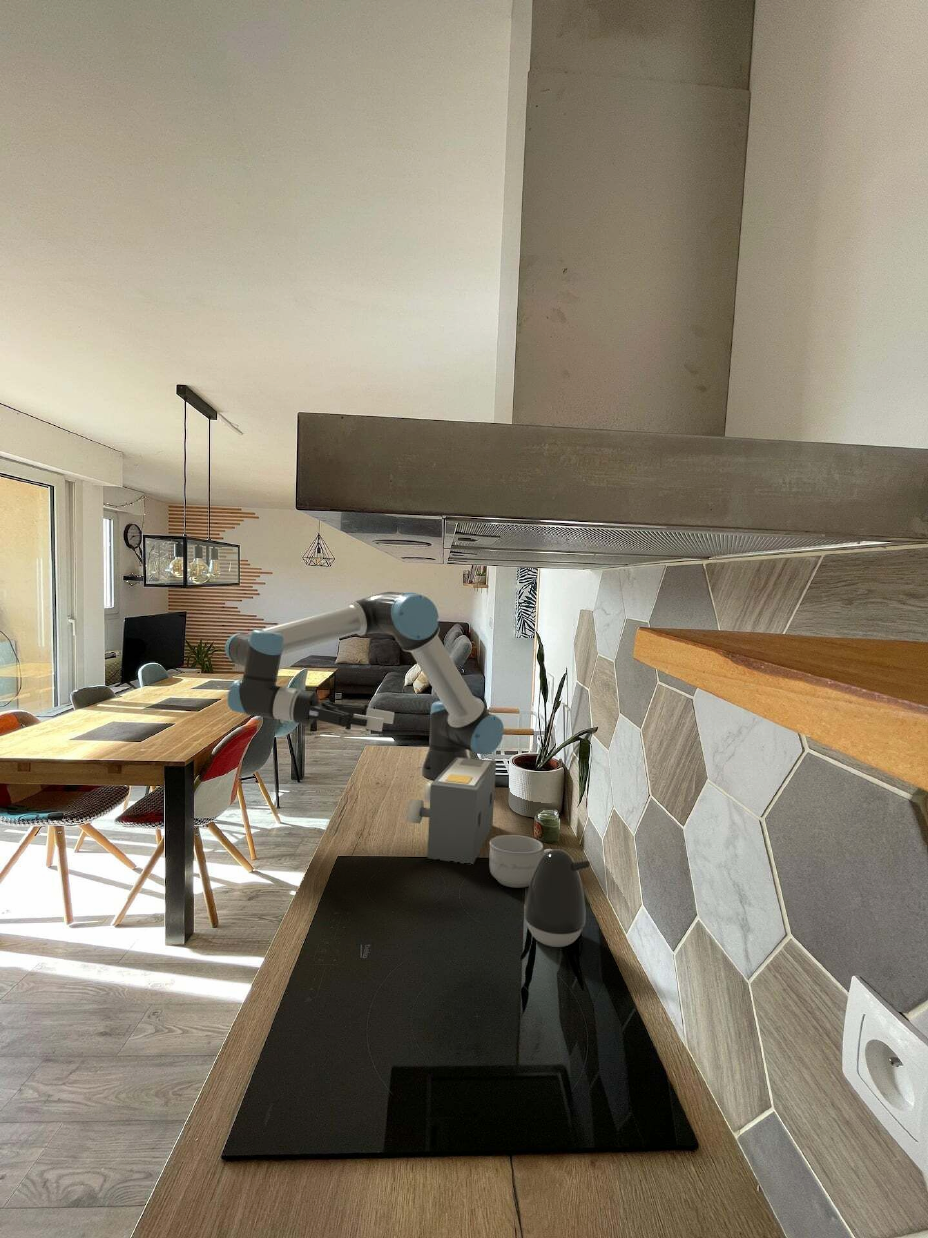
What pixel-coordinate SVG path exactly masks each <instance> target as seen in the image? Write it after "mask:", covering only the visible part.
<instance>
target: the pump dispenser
mask: <svg viewBox="0 0 928 1238" xmlns="http://www.w3.org/2000/svg"><path fill="white" fill-rule="evenodd" d="M589 867H591V862H590V861H589V860H588V859H587V860H579V861H574V859H573V858H572V856H571V855H570V854H569V852H567V851H566V850H563V849H559V848H558V849H557V848H556V849H553V850H551V851H549V852H547V853H546V854H545V855H544V856H543V858H542V859H541V861H540V862H539V864H538V866H537V868H536V870H535V872H534V875H533V877H532V880H531V883H530V885H529V886H528V891H527V893H526V895H527V896H526V899H525V904H524V918H525V921H526V924H527V928H528V930H529V932H530V933H531V935H532V936H533V938H534V939H535V940H537V941H538V942H539V943H541V944H542V945H545V946H548V947H551V948H552V947H553V948H562V947H567V946H569V945H571V944H573V943H574V942H575V941H576V940H577V939H578V938H579V936H580V935H581V933H582V931H583V928H584V927H585V924H586V916H587V914H586V913H587V912H586V911H587V910H586V900H585V893H584V888H583V883H582V878H581V876H580V872H579V871H580V870H585V869H587V868H589Z"/></svg>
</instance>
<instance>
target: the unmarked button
mask: <svg viewBox="0 0 928 1238" xmlns="http://www.w3.org/2000/svg"><path fill="white" fill-rule="evenodd" d="M433 782H434V781H431V780H428V781H427V782H426V783H425V787H424V793H423V794H424V795H423V798H424V799H423V801H424V802H425V803H428V804H430V792H431V784H432V783H433Z"/></svg>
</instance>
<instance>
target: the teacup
mask: <svg viewBox="0 0 928 1238" xmlns="http://www.w3.org/2000/svg"><path fill="white" fill-rule="evenodd" d="M551 850H554V849H552V848H547V849H544V845H543V842H541V841H540V840H538V839H536V838H533V837H529V836H526V835H519V834H518V835H517V834H501V835H497V836H494V837H493V838H490V840H489V855H488V856H489V859H488V860H489V861H488V863H489V864H488V865H489V871H490V874H491V876H492V877H493V878H495V879H496V880H497V882H498V883H499V884H501V885H503V886H505V887H507V888H508V887H509V888H516V889H519V888H521V889H522V888H526V887H529V886H530V883H531V880H532V877H533V875H534V872H535V870H536V868H537V866H538V864H539V862H540V861H541V859H542V858H543V856H544V855H545V854H546V853H547V852H549V851H551Z"/></svg>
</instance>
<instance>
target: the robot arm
mask: <svg viewBox="0 0 928 1238" xmlns="http://www.w3.org/2000/svg"><path fill="white" fill-rule="evenodd" d="M439 617H440V616H439V612H438V608H437V606H436V605H435V603H434V602H433V601H432V600H431V599H430V598H428V597H427V596H425V595H422V594H419V593H417V592H396V591H387V592H386V591H385V592H380V593H377V594H374V595H372V596H371V595H370V596H367V597H365V598H362V599H358V600H353V601H351V602H350V603H349V605H348V606H346V607H343V608H340V609H339V608H338V609H335V610H331V611H327V612H323V613H319V614H316V615H313V616H308V617H305V618H301V619H297V620H293V621H289V622H286V623H281V624H279V625H278V624H277V625H275V626H272V627H268V628H263V629H261V630H260V629H254V630H252V631H251V632H248V633H246V632H240V633H235V634H233V635H231V636H230V637H229V638H228V639H227V641H225V642H226V643H225V646H224V653H225V655H226V657H227V658H228V659H229V660H230V661H232V663H234V664H236V665H239V666H242V667H244V671H243V676H242V678H241V679H235V680H234V681H233V682H232V683H231V685H230V689H229V690H228V692H227V704H228V707H229V709H230V710H231V711H233V712H236V713H241V714H244V715H247V716H254V717H262V718H267V719H273V720H280V721H279V723H281V724H283V723H285V722H290V723H291V722H294V723H295V724H301V725H307V726H309V725H312V724H313V722H314V721H315V720H316V721H317V720H318V721H321V722H325V723H329V724H333V725H336V726H339V727H342V728H345V730H347V731H351V729H352V728H358V729H362V730H363V729H364V730H370V731H374V732H383V727H384V726H383V725H384V724H390V725H393V724H394V719H395V712H393V711H388V710H382V709H376V708H372V707H371V708H370V707H369V705H368V704H364V705H363V706H362V705H353V704H345V703H340V702H339V703H338V702H336V703H335V702H331V701H328V700H327V701H324V702H323V701H322V702H320V701H319V699H320V698H319V694H318V693H317V692H315V691H311V690H310V691H309V690H304V689H302V690H300V689H299V688H294V687H287V686H280V685H277V682H278V675H279V669H280V664H281V658H282V656H283V655H286V654H290V653H293V652H296V651H301V650H304V649H306V648H311V647H314V646H318V645H320V644H325V643H328V642H331V641H334V640H335V641H336V640H338V639H341V638H345V637H349V636H351V635H355V634H356V635H357V636H360V637H362V636H364V635H368V634H369V635H370V634H386V635H391V636H393V638H394V639H395V640H396V642H397V643H398V645H399V647H400V648H401V650H402V651H404V652H407V653H408V652H409V653H411V656H412V657H413V659H414V660H415V661H416V663H417V664H418V666H419V669H420V670H421V671H422V673H423V674H424V676H425V678H426V679H427V681H428V683H429V684H430V686H431V687H432V689H433V690H434V692H435V694H436V696H437V697H438V698H439V699H438V700H439V701H435V702H433V703H432V704H431V707H430V713H429V716H430V719H429V720H430V721H429V738H428V739H429V742H428V751H427V753H426V756H425V758H424V761H423V764H422V767H421V768H422V769H421V775H422V776H423V777H425V778H427V779H429V780H432V781H435V780H436V778H437V777H438V776H439V775H440V774H441V773H442V772H443V771H444V770H445V769H446V768H447V767H448V766H449V764H450V763H451V762H452V761H453V760H454V759H455V758H456V757H462V758H469V755H468V751H469V752H472V753H474V754H476V755H478V754H479V755H482V756H483V755H484V756H485V755H486V756H487V755H490V754H492V753H493V752H494V751H496V750H497V748H498V747H499V746H500V744H501V742H502V740H503V736H504V732H505V731H504V730H505V728H504V724H503V720H501V719H500V717H498V716H497V715H496V714H492V713H490V712H489V710H488V709H487V707H486V704H485V703H484V701H482V699H479V698H475V697H474V695H473V694H472V692H471V689H470V688H469V687H468V685H467V683H466V681H465V680H464V678H463V676H462V675H461V673H460V671H459V670H458V668H457V666H456V664H455V663H454V661H453V660H452V658H451V656H450V654H449V653H448V651H447V648H446V647H445V646H444V644H443V642H442V640H441V638H440V637H439V633H440V630H441V629H440V626H439V620H438V619H439Z"/></svg>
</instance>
